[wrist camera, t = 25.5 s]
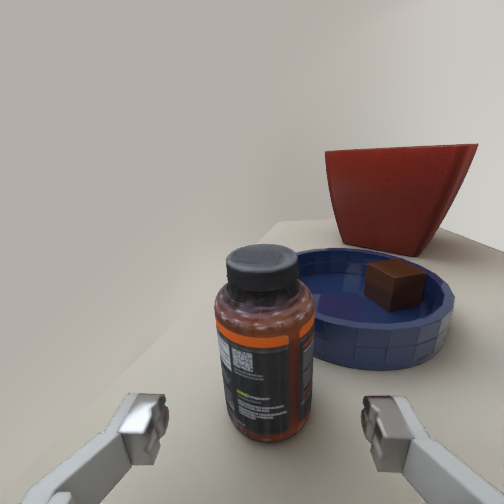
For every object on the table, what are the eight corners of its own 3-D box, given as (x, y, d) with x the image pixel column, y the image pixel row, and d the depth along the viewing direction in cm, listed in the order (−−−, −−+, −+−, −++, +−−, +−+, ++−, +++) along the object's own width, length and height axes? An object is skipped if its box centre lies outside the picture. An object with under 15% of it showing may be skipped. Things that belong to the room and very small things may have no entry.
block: (389, 312, 26) (395, 278, 25) (363, 294, 30) (367, 263, 28) (420, 305, 27) (427, 271, 26) (391, 288, 31) (396, 258, 29)
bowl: (330, 402, 18) (334, 357, 16) (247, 289, 33) (245, 261, 32) (489, 335, 23) (503, 297, 22) (354, 265, 39) (357, 240, 37)
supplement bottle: (299, 366, 21) (303, 235, 17) (322, 443, 15) (337, 274, 11) (227, 372, 20) (213, 240, 16) (223, 452, 15) (201, 283, 11)
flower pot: (438, 271, 36) (470, 142, 30) (317, 245, 48) (322, 150, 42) (455, 237, 49) (479, 142, 43) (356, 223, 61) (364, 148, 55)
